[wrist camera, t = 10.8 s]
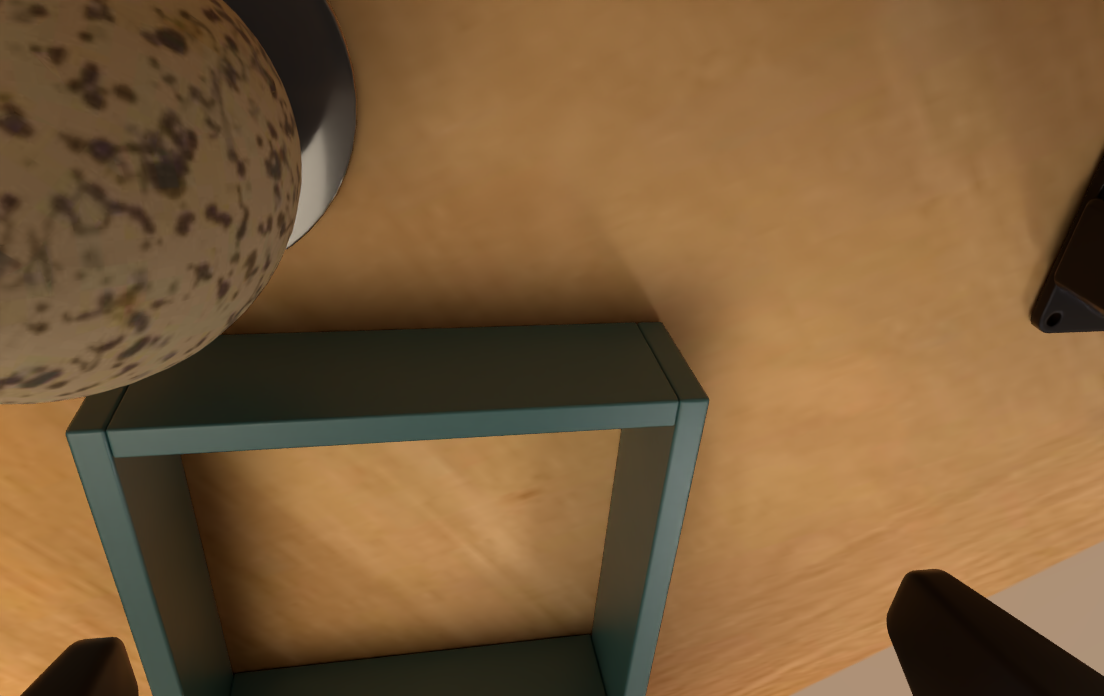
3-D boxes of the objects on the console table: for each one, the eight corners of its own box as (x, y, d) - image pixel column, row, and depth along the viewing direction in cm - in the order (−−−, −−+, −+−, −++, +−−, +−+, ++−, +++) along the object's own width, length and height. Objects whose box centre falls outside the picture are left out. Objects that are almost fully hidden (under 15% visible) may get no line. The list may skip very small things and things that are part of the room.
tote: (662, 320, 22) (710, 399, 19) (608, 644, 30) (636, 741, 26) (119, 336, 19) (62, 432, 16) (212, 689, 27) (187, 804, 23)
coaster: (342, -138, 15) (340, -138, 15) (368, 272, 20) (367, 279, 19) (-187, -182, 13) (-202, -184, 13) (-21, 279, 18) (-29, 286, 18)
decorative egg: (359, -1, 16) (324, 130, 8) (276, 286, 19) (186, 607, 11) (-40, -171, 13) (-757, -259, 5) (-63, 191, 16) (-534, 515, 8)
